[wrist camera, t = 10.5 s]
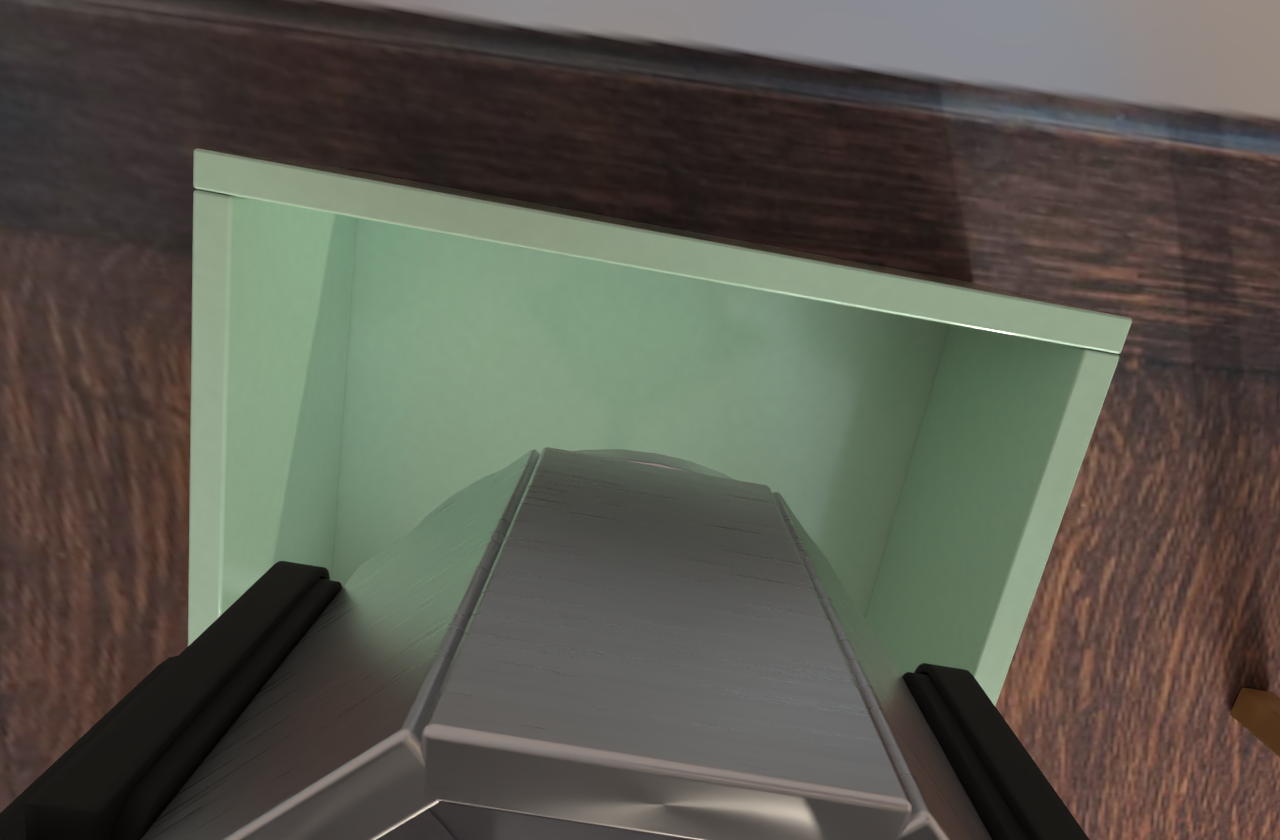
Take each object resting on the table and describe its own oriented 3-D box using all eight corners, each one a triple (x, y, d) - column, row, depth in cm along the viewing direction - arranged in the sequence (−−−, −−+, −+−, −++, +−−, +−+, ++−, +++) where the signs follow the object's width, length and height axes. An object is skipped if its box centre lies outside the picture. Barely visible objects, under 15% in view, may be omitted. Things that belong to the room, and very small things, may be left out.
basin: (344, 168, 22) (191, 147, 15) (976, 283, 23) (1134, 318, 16) (308, 717, 28) (183, 907, 20) (824, 796, 28) (889, 1007, 21)
